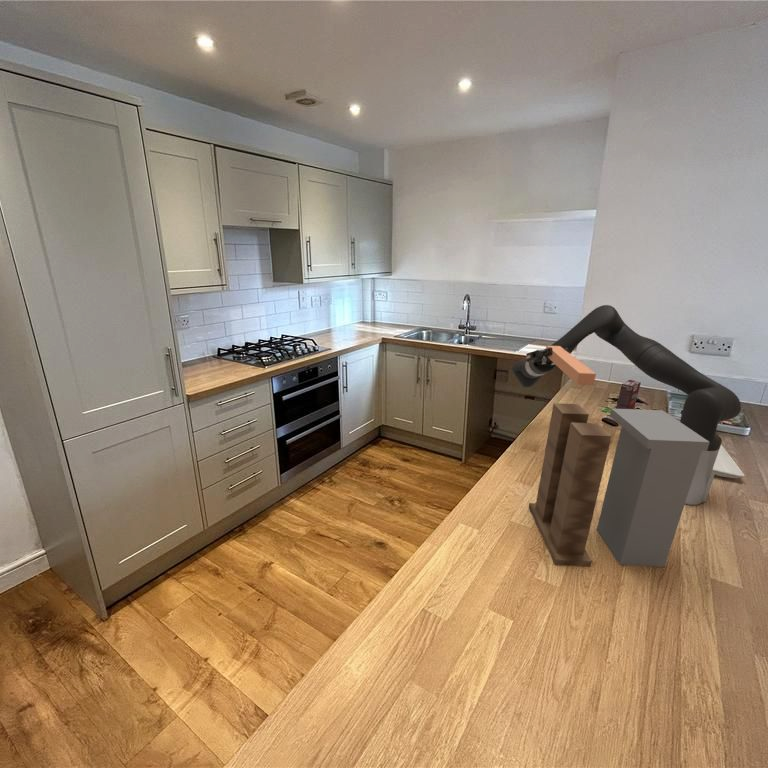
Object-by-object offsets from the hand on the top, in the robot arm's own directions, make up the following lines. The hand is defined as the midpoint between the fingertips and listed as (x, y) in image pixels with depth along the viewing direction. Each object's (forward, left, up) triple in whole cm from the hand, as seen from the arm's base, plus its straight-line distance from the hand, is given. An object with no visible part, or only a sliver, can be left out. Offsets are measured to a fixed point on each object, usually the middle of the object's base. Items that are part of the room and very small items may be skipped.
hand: (559, 351), depth 121 cm
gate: (+6, +33, -39) cm, 51 cm away
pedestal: (-10, +34, -39) cm, 53 cm away
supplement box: (-47, -42, -39) cm, 74 cm away
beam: (0, +8, -3) cm, 8 cm away
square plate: (-52, -12, -40) cm, 67 cm away
